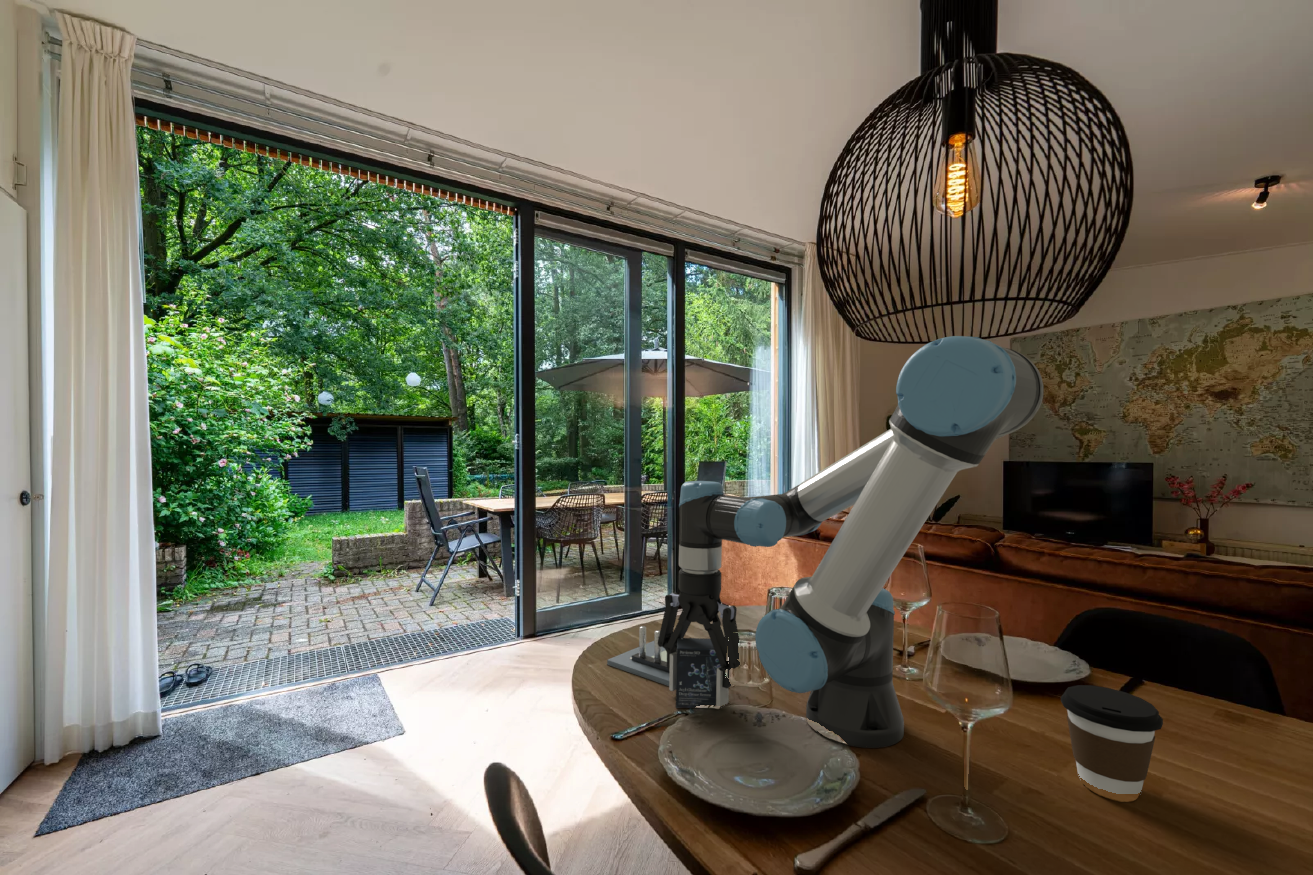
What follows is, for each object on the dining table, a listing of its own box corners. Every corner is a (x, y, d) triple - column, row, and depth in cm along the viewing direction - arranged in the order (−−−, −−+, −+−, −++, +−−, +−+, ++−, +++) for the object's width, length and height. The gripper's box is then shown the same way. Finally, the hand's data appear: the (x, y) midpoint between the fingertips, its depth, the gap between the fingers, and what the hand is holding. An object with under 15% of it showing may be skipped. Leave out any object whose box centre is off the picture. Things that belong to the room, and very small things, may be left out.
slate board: (742, 661, 123) (742, 655, 123) (686, 692, 108) (686, 685, 108) (667, 639, 136) (667, 634, 136) (607, 664, 120) (607, 658, 120)
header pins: (685, 672, 114) (685, 636, 114) (678, 676, 112) (679, 639, 112) (638, 657, 122) (638, 623, 122) (631, 660, 120) (632, 626, 120)
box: (675, 709, 101) (676, 647, 101) (676, 694, 107) (676, 636, 107) (721, 710, 101) (722, 649, 101) (719, 696, 106) (720, 637, 106)
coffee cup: (1167, 826, 72) (1169, 728, 72) (1059, 794, 78) (1060, 703, 78) (1156, 783, 81) (1157, 696, 81) (1060, 758, 87) (1061, 677, 87)
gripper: (766, 575, 100) (764, 707, 100) (664, 557, 113) (662, 673, 113) (743, 583, 94) (741, 724, 94) (638, 563, 108) (636, 685, 108)
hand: (698, 696), depth 104 cm, fingers closed on box, 9 cm apart
